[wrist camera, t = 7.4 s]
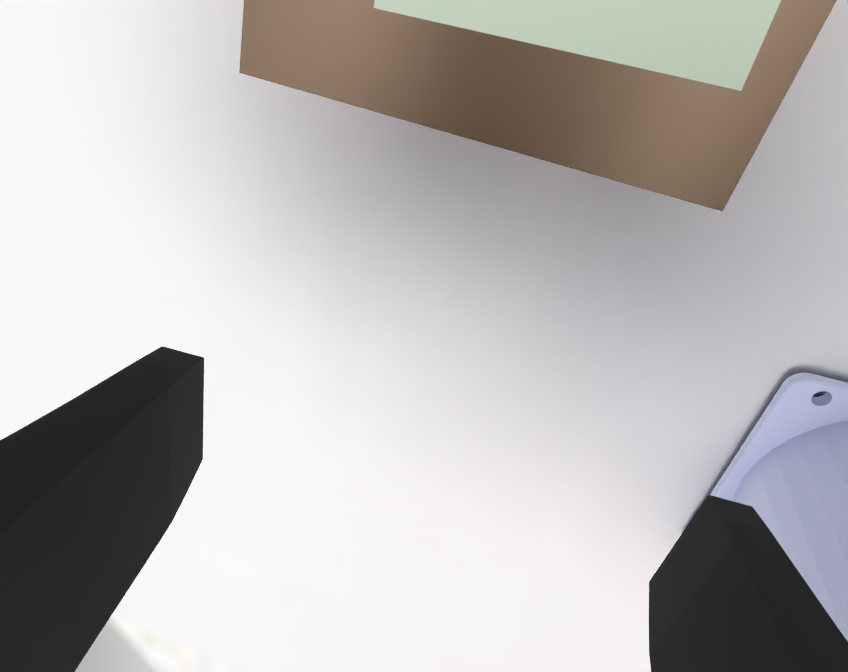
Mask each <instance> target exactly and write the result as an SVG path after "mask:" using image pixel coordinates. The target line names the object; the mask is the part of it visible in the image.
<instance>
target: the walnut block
mask: <svg viewBox="0 0 848 672" xmlns="http://www.w3.org/2000/svg"><path fill="white" fill-rule="evenodd" d="M374 2H375V0H244V11H243V26H242V42H241V57H240V72H239V73H243V74H246V75H250V76H253V77H257V78H260V79H264V80H267V81H271V82H274V83H277V84H281V85H284V86H288V87H291V88H295V89H298V90H302V91H305V92H309V93H312V94H316V95H319V96H323V97H326V98H330V99H333V100H337V101H340V102H344V103H347V104H351V105H354V106H358V107H361V108H364V109H368V110H371V111H375V112H378V113H382V114H385V115H389V116H392V117H396V118H399V119H403V120H406V121H410V122H413V123H417V124H420V125H424V126H427V127H431V128H434V129H438V130H441V131H444V132H448V133H451V134H455V135H458V136H462V137H465V138H469V139H472V140H476V141H479V142H483V143H486V144H490V145H493V146H497V147H500V148H504V149H507V150H511V151H514V152H518V153H521V154H525V155H528V156H531V157H535V158H538V159H542V160H545V161H549V162H552V163H556V164H559V165H563V166H566V167H570V168H573V169H577V170H580V171H584V172H587V173H591V174H594V175H598V176H601V177H605V178H608V179H612V180H615V181H618V182H622V183H625V184H629V185H632V186H636V187H639V188H643V189H646V190H650V191H653V192H657V193H660V194H664V195H667V196H671V197H674V198H678V199H681V200H685V201H688V202H692V203H695V204H698V205H702V206H705V207H709V208H712V209H716V210H719V211H723V209H724V207H725V206H726V204H727V202H728V200H729V198H730V196H731V194H732V193H733V191H734V189H735V187H736V185H737V183H738V182H739V180H740V178H741V176H742V174H743V172H744V170H745V169H746V167H747V165H748V163H749V161H750V159H751V157H752V156H753V154H754V152H755V150H756V148H757V146H758V145H759V143H760V141H761V139H762V137H763V135H764V133H765V132H766V130H767V128H768V126H769V124H770V122H771V121H772V119H773V117H774V115H775V113H776V111H777V109H778V108H779V106H780V104H781V102H782V100H783V98H784V96H785V95H786V93H787V91H788V89H789V87H790V85H791V84H792V82H793V80H794V78H795V76H796V74H797V72H798V71H799V69H800V67H801V65H802V63H803V61H804V60H805V58H806V56H807V54H808V52H809V50H810V48H811V47H812V45H813V43H814V41H815V39H816V37H817V35H818V34H819V32H820V30H821V28H822V26H823V24H824V23H825V21H826V19H827V17H828V15H829V13H830V11H831V10H832V8H833V6H834V4H835V2H836V0H781V2H780V4H779V6H778V9H777V11H776V13H775V15H774V18H773V20H772V22H771V25H770V27H769V29H768V31H767V34H766V36H765V38H764V40H763V43H762V45H761V47H760V49H759V52H758V54H757V56H756V59H755V61H754V63H753V65H752V68H751V70H750V72H749V74H748V77H747V79H746V81H745V83H744V86H743V88H742V90H741V91H740V90H735V89H731V88H726V87H722V86H717V85H713V84H708V83H704V82H700V81H695V80H691V79H686V78H682V77H677V76H673V75H669V74H664V73H660V72H655V71H651V70H646V69H642V68H638V67H633V66H629V65H624V64H620V63H615V62H611V61H607V60H602V59H598V58H593V57H589V56H584V55H580V54H575V53H571V52H567V51H562V50H558V49H553V48H549V47H544V46H540V45H536V44H531V43H527V42H522V41H518V40H513V39H509V38H505V37H500V36H496V35H491V34H487V33H482V32H478V31H473V30H469V29H465V28H460V27H456V26H451V25H447V24H442V23H438V22H434V21H429V20H425V19H420V18H416V17H411V16H407V15H403V14H398V13H394V12H389V11H385V10H380V9H376V8H374Z"/></svg>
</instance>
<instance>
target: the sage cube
mask: <svg viewBox="0 0 848 672" xmlns="http://www.w3.org/2000/svg"><path fill="white" fill-rule="evenodd" d="M780 2H781V0H375V2H374V8H376V9H380V10H385V11H389V12H394V13H398V14H403V15H407V16H411V17H416V18H420V19H425V20H429V21H434V22H438V23H442V24H447V25H451V26H456V27H460V28H465V29H469V30H473V31H478V32H482V33H487V34H491V35H496V36H500V37H505V38H509V39H513V40H518V41H522V42H527V43H531V44H536V45H540V46H544V47H549V48H553V49H558V50H562V51H567V52H571V53H575V54H580V55H584V56H589V57H593V58H598V59H602V60H607V61H611V62H615V63H620V64H624V65H629V66H633V67H638V68H642V69H646V70H651V71H655V72H660V73H664V74H669V75H673V76H677V77H682V78H686V79H691V80H695V81H700V82H704V83H708V84H713V85H717V86H722V87H726V88H731V89H735V90H740V91H741V90H742V88H743V86H744V83H745V81H746V79H747V77H748V74H749V72H750V70H751V68H752V65H753V63H754V61H755V59H756V56H757V54H758V52H759V49H760V47H761V45H762V43H763V40H764V38H765V36H766V34H767V31H768V29H769V27H770V25H771V22H772V20H773V18H774V15H775V13H776V11H777V9H778V6H779V4H780Z"/></svg>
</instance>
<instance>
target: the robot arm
mask: <svg viewBox="0 0 848 672" xmlns="http://www.w3.org/2000/svg"><path fill="white" fill-rule="evenodd" d="M203 389H204V358H203V357H199V356H195V355H192V354H188V353H184V352H181V351H177V350H173V349H170V348H166V347H160V348H159V349H157V350H155V351H153V352H152V353H150V354H148V355H146V356H145V357H143V358H141V359H139V360H138V361H136V362H134V363H133V364H131V365H129V366H128V367H126V368H124V369H123V370H121V371H119V372H118V373H116V374H114V375H113V376H111V377H109V378H108V379H106V380H104V381H103V382H101V383H99V384H98V385H96V386H94V387H93V388H91V389H89V390H88V391H86V392H84V393H83V394H81V395H79V396H77V397H76V398H74V399H72V400H71V401H69V402H67V403H66V404H64V405H62V406H60V407H59V408H57V409H55V410H53V411H52V412H50V413H48V414H46V415H45V416H43V417H41V418H39V419H38V420H36V421H34V422H32V423H31V424H29V425H27V426H25V427H24V428H22V429H20V430H18V431H17V432H15V433H13V434H11V435H9V436H8V437H6V438H4V439H2V440H0V672H75V670H76V668H77V667H78V665H79V664H80V662H81V661H82V659H83V657H84V656H85V655H86V653H87V652H88V650H89V648H90V647H91V645H92V644H93V642H94V641H95V639H96V638H97V636H98V635H99V633H100V631H101V630H102V629H103V627H104V626H105V624H106V622H107V621H108V619H109V618H110V616H111V615H112V613H113V612H114V610H115V609H116V607H117V606H118V604H119V603H120V601H121V600H122V598H123V596H124V595H125V593H126V592H127V590H128V589H129V587H130V586H131V584H132V583H133V581H134V580H135V578H136V577H137V575H138V574H139V572H140V571H141V569H142V567H143V566H144V564H145V563H146V561H147V560H148V558H149V557H150V555H151V553H152V552H153V550H154V549H155V547H156V546H157V544H158V543H159V541H160V540H161V538H162V536H163V535H164V533H165V532H166V530H167V528H168V527H169V525H170V524H171V522H172V520H173V518H174V516H175V514H176V512H177V510H178V508H179V506H180V505H181V503H182V501H183V499H184V497H185V495H186V493H187V491H188V488H189V486H190V484H191V482H192V480H193V478H194V476H195V474H196V472H197V470H198V468H199V465H200V463H201V461H202V459H203ZM821 391H827V392H826V393H825V394H824V395H822V396H819V397H812V396H813V395H814V394H816V393H818V392H821ZM649 654H650V663H651V672H848V383H847V382H843V381H839V380H835V379H831V378H827V377H823V376H819V375H815V374H811V373H797V374H794V375H792V376H790V377H788V378H787V379H786V380H785V381H784V382H783V383H782V385H781V387H780V388H779V390H778V391H777V393H776V394H775V396H774V397H773V399H772V400H771V402H770V403H769V405H768V406H767V408H766V409H765V411H764V413H763V414H762V416H761V417H760V419H759V420H758V422H757V423H756V425H755V426H754V428H753V429H752V431H751V432H750V434H749V435H748V437H747V439H746V440H745V442H744V443H743V445H742V446H741V448H740V449H739V451H738V452H737V454H736V455H735V457H734V458H733V460H732V461H731V463H730V464H729V466H728V468H727V469H726V471H725V472H724V474H723V475H722V477H721V478H720V480H719V481H718V483H717V484H716V486H715V487H714V489H713V490H712V492H711V494H710V495H708V496H707V498H706V499H705V501H704V502H703V504H702V505H701V507H700V508H699V510H698V511H697V513H696V514H695V516H694V517H693V518H692V520H691V521H690V523H689V524H688V526H687V527H686V529H685V530H684V532H683V533H682V535H681V536H680V538H679V539H678V541H677V542H676V543H675V545H674V546H673V548H672V549H671V551H670V552H669V554H668V555H667V557H666V558H665V560H664V561H663V563H662V564H661V565H660V567H659V568H658V570H657V571H656V573H655V574H654V576H653V577H652V579H651V580H650V582H649Z"/></svg>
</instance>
